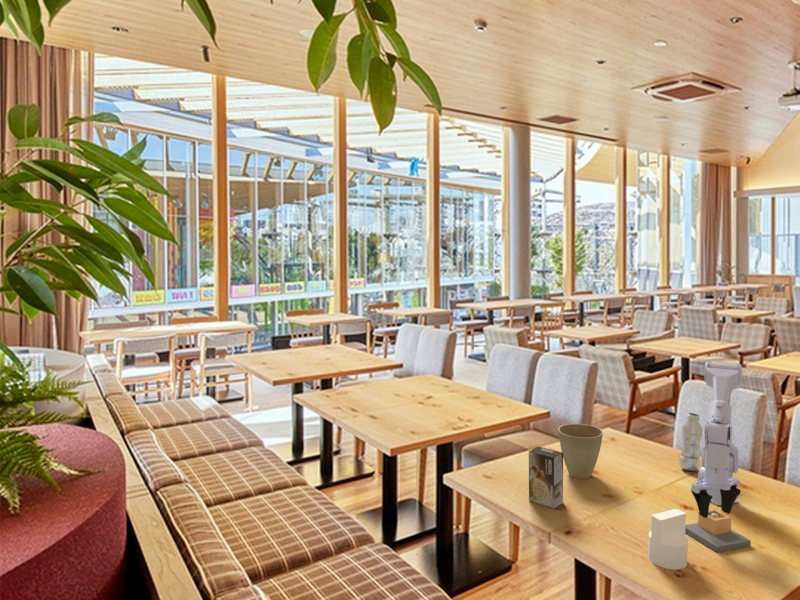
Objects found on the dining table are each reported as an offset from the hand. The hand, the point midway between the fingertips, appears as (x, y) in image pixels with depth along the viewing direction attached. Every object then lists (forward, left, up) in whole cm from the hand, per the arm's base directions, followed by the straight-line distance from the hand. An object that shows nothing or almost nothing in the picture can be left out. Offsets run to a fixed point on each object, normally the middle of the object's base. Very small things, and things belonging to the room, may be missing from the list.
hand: (714, 514), depth 158 cm
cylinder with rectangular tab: (+7, -22, -6) cm, 23 cm away
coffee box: (-32, -34, -6) cm, 47 cm away
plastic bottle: (-39, +27, -6) cm, 48 cm away
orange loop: (0, 0, -4) cm, 4 cm away
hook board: (+2, -2, -6) cm, 6 cm away
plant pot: (-47, -12, -6) cm, 49 cm away
